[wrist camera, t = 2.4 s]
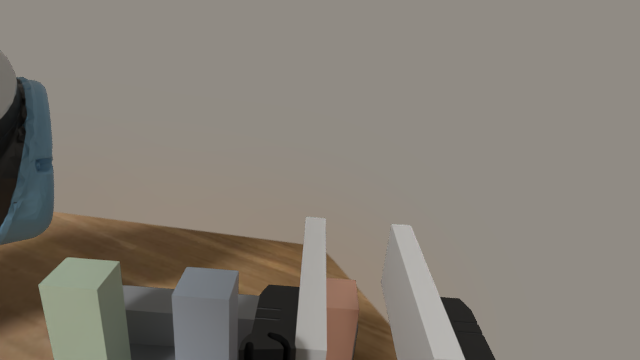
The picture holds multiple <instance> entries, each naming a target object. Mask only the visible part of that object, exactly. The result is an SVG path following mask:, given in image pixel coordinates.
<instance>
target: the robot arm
mask: <svg viewBox="0 0 640 360" xmlns="http://www.w3.org/2000/svg"><path fill="white" fill-rule="evenodd" d="M52 160H53V159H52V132H51V121H50V112H49V103H48V97H47V93H46V89H45V87H44V86H43V85H42V84H41V83H40V82H37V81H33V80H28V79H26V78H24V77H19V78H18V77H16V75H15V72H14V70H13V68H12V66H11V64H10V62H9V60H8V58H7V57H6V56H5V55H4V54H3V53H2V52H1V51H0V245H2V244H7V243H12V242H16V241H21V240H26V239H30V238H34V237H36V236H38V235H40V234H41V233H43V232H44V231H45V230H46V229H47V228H48V227H49V225H50V223H51V221H52V217H53V208H54V175H53V166H52ZM381 284H382V289H383V294H384V298H385V303H386V308H387V313H388V318H389V322H390V327H391V332H392V337H393V341H394V346H395V351H396V356H397V360H495V358H494V356H493V354H492V352H491V350H490V348H489V346H488V344H487V342H486V340H485V338H484V336H483V335H482V331H481V329H480V327H479V325H477V321H476V319H475V317H474V315H473V313H472V311H471V310H470V309H469V308H468V307H467V306H466V305H465V304H464V303H463V302H462V301H461V300H460V299H458V298H445V297H440V296H439V294H438V291H437V289H436V286H435V284H434V281H433V279H432V276H431V274H430V271H429V269H428V267H427V264H426V261H425V259H424V256H423V254H422V251H421V249H420V246H419V244H418V242H417V239H416V237H415V234H414V232H413V229H412V227H411V226H410V225H399V224H391V229H390V235H389V241H388V246H387V252H386V258H385V263H384V269H383V275H382V280H381ZM326 353H327V311H326V219H325V218H315V217H306V222H305V234H304V245H303V256H302V268H301V279H300V287H291V286H279V285H268V286H267V287H266V288H265V290H264V291H263V292H262V293H261V294H260V297H259V301H258V306H257V310H256V315H255V319H254V323H253V328H252V332H251V333H250V334H248V335H247V336H246V337H245V338H244V339H243V341H242V342H241V345H240V348H239V360H326Z"/></svg>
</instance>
